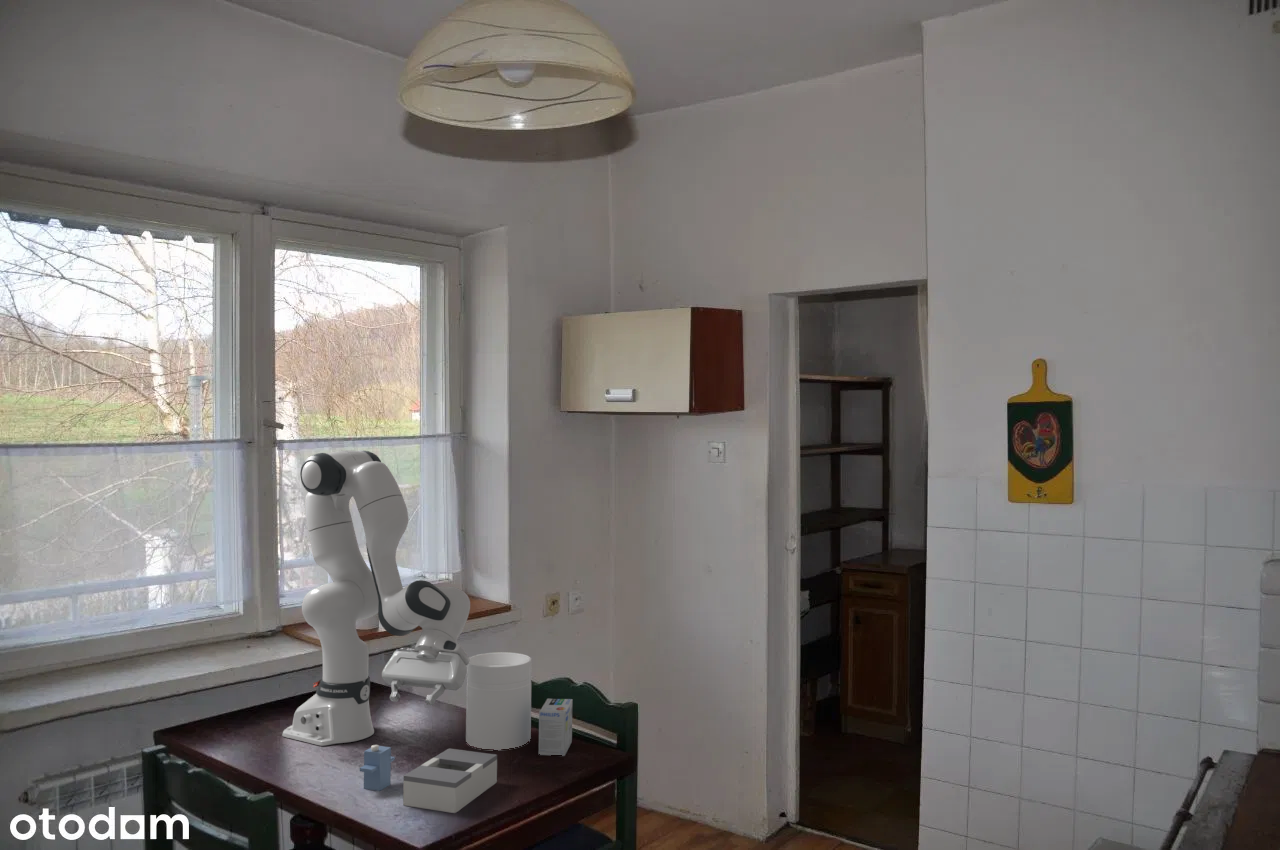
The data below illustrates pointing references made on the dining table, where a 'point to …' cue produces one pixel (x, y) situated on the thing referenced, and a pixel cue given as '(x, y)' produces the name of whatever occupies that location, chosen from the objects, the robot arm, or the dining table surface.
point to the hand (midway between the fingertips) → (410, 702)
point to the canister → (498, 700)
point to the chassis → (450, 780)
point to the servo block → (377, 767)
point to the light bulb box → (555, 727)
